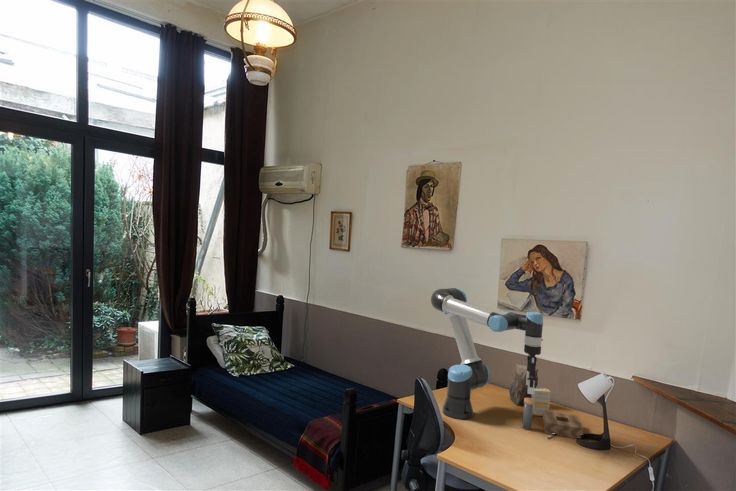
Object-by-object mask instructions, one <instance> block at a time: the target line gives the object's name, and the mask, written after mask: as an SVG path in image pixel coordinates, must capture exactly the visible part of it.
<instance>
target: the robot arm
mask: <svg viewBox="0 0 736 491" xmlns="http://www.w3.org/2000/svg"><path fill="white" fill-rule="evenodd" d="M430 304H431V305H432V307H433V308H434V309H436V310H437V311H440V312H442V313H444V314H445V316H446V317H448V320H449V322H450V325H451V328H452V333H453V336H454V338H455V342H456V345H457V348H458V352H459V356H460V358H461V359H460V360H461V362H460V364H455V365H451V366H450V367H449V368H448V373H447V387H446V388H447V390H446V398H445V400H444V402H443V405H442V413H443V415H445V416H447V417H450V418H453V419H456V420H458V419H459V420H468V419H471V418H472V417H473V416H474V410H473V405H472V401H471V395H472V394H471V393H472V392H471V391H474V390H476V389H482V388H483V387H485V386H486V385H488V384H489V382H490V380H491V371H490V368H489V366H487V365H486V364H484V363H483V360H482V358H480V357H479V356H478V353H477V350H476V346H475V344H474V340H473V337H472V334H471V330H470V327H469V324H468V320H469V321H472V322H474V323H477V324H480V325H483V326H486V327H488V328H489V329H490V330H491V331H492V332H495V333H502V332H505V331H511V330H520V331H525V332H524V345H523V346H524V347H523V348H524V349H523V351H524V353H525V354H528V355H527V358H526V359H527V364H526V366H527V377H526V385H528V392H527V394H533V395H534V384H535V369H536V366H537V361H538V360H537V356H538V355H539V356H540V355H541V354H542V347H541V346H542V342H543V341H544V339H543V326H544V315H543V313H541V312H536V311H527V312H526V314H522V313H517V312H512V311H510V312H509V311H504V313H503V314H501V313H498V312H495V311H492V310H488V309H486V308H483V307H480V306H478V305H474V304H471V303H468V298H467V295H466V293H465V292H464V291H463V290H462V289H460V288H457V287H455V288H454V287H450V288H438V289H436V290H434V291H433V292H432V295H431V297H430Z"/></svg>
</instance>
